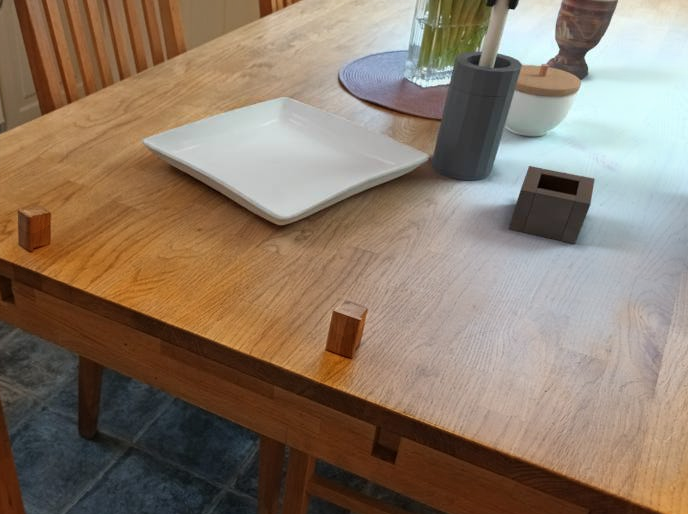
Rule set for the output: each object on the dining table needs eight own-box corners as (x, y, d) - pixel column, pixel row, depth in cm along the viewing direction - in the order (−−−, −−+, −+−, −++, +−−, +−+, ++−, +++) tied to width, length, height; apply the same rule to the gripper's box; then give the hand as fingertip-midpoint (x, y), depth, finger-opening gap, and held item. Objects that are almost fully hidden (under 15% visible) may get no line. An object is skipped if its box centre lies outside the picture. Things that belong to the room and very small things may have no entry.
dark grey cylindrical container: (495, 163, 99) (525, 57, 90) (485, 185, 93) (516, 75, 85) (438, 151, 101) (462, 48, 93) (425, 172, 96) (450, 64, 87)
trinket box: (488, 137, 106) (506, 72, 100) (489, 112, 114) (505, 50, 108) (566, 147, 104) (589, 81, 98) (560, 120, 112) (581, 58, 106)
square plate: (138, 164, 96) (137, 136, 94) (283, 118, 110) (285, 92, 108) (279, 245, 81) (282, 214, 78) (428, 179, 94) (435, 151, 92)
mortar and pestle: (546, 58, 136) (583, -62, 124) (595, 66, 133) (638, -57, 121) (537, 75, 128) (576, -51, 116) (589, 84, 125) (634, -45, 113)
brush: (487, 115, 94) (540, -80, 80) (483, 124, 91) (537, -76, 78) (462, 111, 95) (511, -83, 81) (457, 119, 93) (506, -79, 79)
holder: (580, 216, 87) (595, 178, 84) (575, 244, 82) (590, 204, 79) (517, 203, 90) (529, 165, 86) (508, 229, 84) (520, 189, 81)
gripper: (485, -261, 69) (432, 4, 84) (654, -259, 65) (565, 21, 80) (498, -258, 75) (445, -9, 90) (654, -256, 70) (571, 7, 85)
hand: (502, 5), depth 85 cm, fingers closed on brush, 2 cm apart
